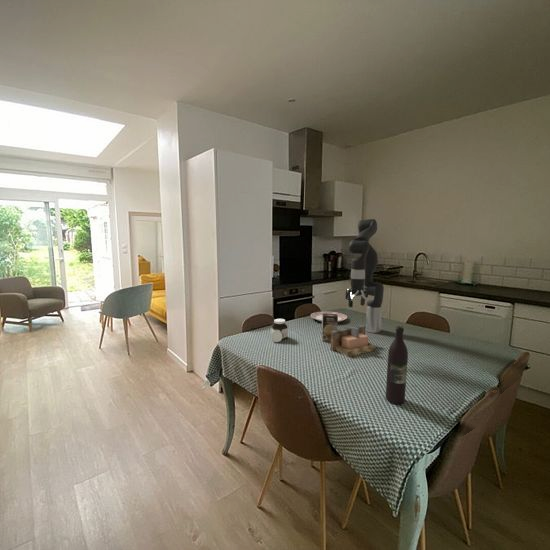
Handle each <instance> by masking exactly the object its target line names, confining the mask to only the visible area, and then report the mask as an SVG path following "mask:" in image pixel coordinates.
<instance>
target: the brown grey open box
mask: <svg viewBox="0 0 550 550" xmlns="http://www.w3.org/2000/svg"><path fill="white" fill-rule="evenodd" d="M352 327H353V326H351V327H345V328H340V329H337V330H334V331H331V342H330V351H331V352H338V353H340V354H341V355H344V356H345V355H346V357H347V358H349V357H354V356H358V355H361V353H362V354H365V353H369V352H373V351H375V350H376V345H375V344H374V343H373V344H372V343H371V342H369V341H368V346H364V347H360V348H356V349H351V350H347V349H345V348H343V347H341V344H342V337H343V336H348V335H351V330H352ZM354 327H356V328H359V333H362V334H364V335H366V325H364V324H361V325H356V326H354ZM335 350H337V351H335ZM357 354H358V355H357ZM353 355H354V356H353Z"/></svg>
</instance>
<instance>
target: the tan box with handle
mask: <svg viewBox="0 0 550 550" xmlns="http://www.w3.org/2000/svg"><path fill="white" fill-rule="evenodd" d="M351 327H352V330H351V335H348V336H343V337H342V344H341V347H343V348H345V349H347V350H351V349H356V348H360V347H364V346H368V342H369V335H366V334H365V335H364V334H362V333H359V328H356V327H355V326H351Z"/></svg>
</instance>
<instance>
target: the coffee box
mask: <svg viewBox="0 0 550 550" xmlns="http://www.w3.org/2000/svg"><path fill="white" fill-rule="evenodd" d="M338 323H339V322H338V316H337V314H327V313H322V322H321V335H320V336H321V338H320V339H321V342H329V343H331V331H334V330H338Z"/></svg>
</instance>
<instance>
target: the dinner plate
mask: <svg viewBox="0 0 550 550" xmlns="http://www.w3.org/2000/svg"><path fill="white" fill-rule="evenodd" d="M322 313H327V314H337V316H338V323H339V322H342V321H345V320H347V318H348V316H347V315H346V314H343V313H340V312H336V311H317V312H313V313H311V314H310V317H311V318H312V319H313V320H316V321H318V322H321V323H322Z"/></svg>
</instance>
